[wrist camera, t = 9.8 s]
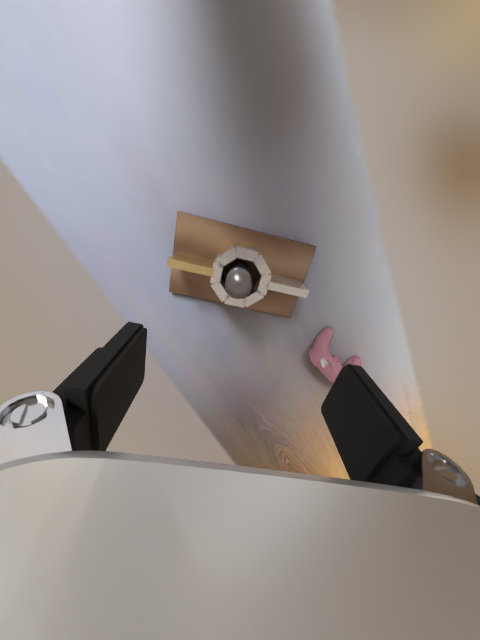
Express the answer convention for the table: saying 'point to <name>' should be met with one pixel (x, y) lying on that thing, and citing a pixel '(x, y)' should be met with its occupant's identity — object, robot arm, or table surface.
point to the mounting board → (216, 236)
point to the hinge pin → (238, 280)
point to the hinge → (215, 268)
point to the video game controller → (328, 356)
